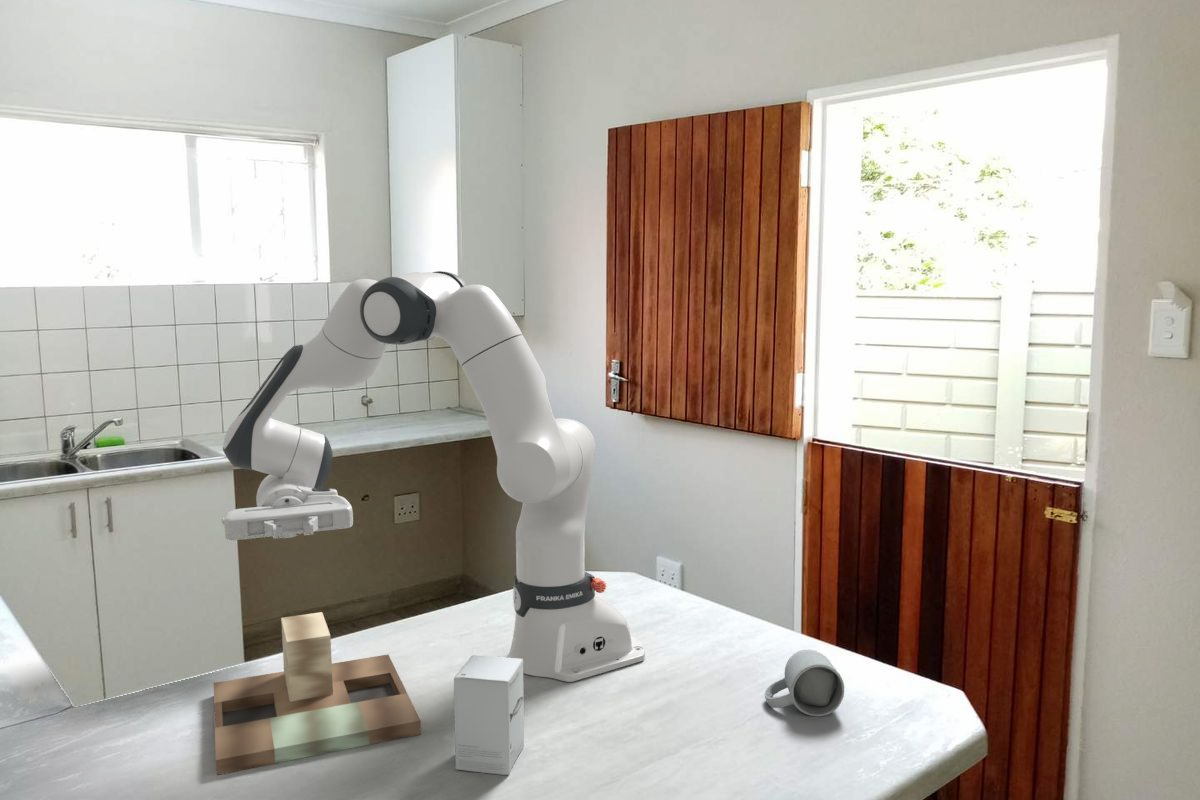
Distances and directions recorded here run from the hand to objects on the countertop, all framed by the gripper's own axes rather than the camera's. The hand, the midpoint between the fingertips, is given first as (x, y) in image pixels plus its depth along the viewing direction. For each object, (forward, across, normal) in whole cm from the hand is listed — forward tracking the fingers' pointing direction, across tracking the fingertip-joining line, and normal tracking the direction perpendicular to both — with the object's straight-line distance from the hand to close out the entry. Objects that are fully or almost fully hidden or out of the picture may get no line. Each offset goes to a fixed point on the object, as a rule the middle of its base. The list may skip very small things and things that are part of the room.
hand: (293, 531), depth 147 cm
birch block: (+13, 0, +20) cm, 24 cm away
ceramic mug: (+45, +66, +22) cm, 83 cm away
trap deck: (+19, 0, +22) cm, 29 cm away
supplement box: (+41, +20, +22) cm, 51 cm away
